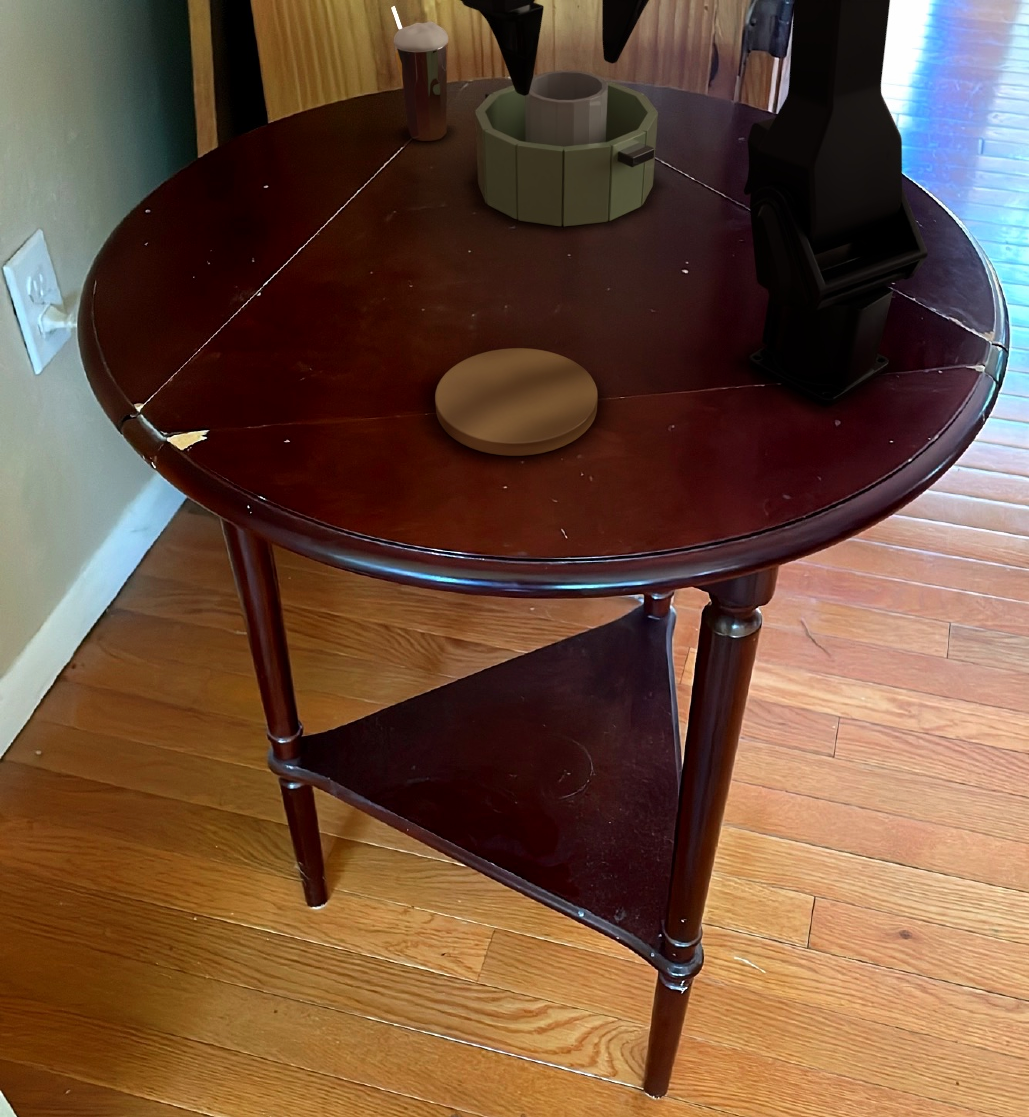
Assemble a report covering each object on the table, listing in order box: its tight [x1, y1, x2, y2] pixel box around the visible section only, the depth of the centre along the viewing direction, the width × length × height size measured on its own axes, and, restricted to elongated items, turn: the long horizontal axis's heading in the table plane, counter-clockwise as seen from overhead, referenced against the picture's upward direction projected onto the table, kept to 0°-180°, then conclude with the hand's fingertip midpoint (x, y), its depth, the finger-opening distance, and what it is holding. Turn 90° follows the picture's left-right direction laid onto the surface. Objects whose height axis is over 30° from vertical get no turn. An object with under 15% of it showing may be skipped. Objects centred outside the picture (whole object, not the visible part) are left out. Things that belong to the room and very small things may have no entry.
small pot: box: [525, 69, 608, 147], centre depth 89 cm, size 6×6×8 cm
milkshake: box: [390, 5, 449, 142], centre depth 96 cm, size 4×5×10 cm
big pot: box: [474, 80, 659, 227], centre depth 89 cm, size 17×14×6 cm
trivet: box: [434, 347, 599, 457], centre depth 69 cm, size 10×10×1 cm
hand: (567, 77), depth 85 cm, fingers open, 9 cm apart
